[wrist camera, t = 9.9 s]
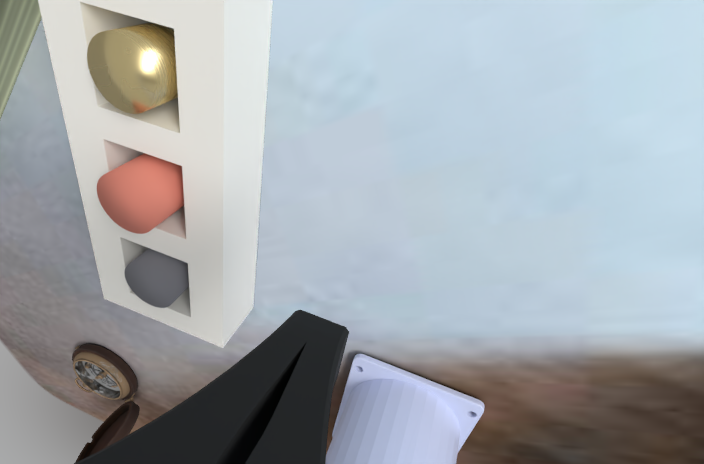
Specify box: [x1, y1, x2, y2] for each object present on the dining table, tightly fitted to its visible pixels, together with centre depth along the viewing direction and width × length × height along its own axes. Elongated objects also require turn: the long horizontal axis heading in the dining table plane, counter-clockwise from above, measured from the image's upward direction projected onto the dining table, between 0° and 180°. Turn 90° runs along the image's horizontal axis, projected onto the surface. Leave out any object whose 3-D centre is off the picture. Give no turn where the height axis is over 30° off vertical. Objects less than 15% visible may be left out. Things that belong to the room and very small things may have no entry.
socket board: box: [38, 0, 273, 348], centre depth 21 cm, size 18×8×4 cm, turn 170°
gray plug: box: [125, 248, 189, 308], centre depth 24 cm, size 3×3×4 cm
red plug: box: [97, 153, 184, 234], centre depth 21 cm, size 3×3×4 cm
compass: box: [72, 344, 140, 463], centre depth 36 cm, size 8×8×7 cm
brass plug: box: [87, 22, 178, 114], centre depth 18 cm, size 3×3×4 cm
